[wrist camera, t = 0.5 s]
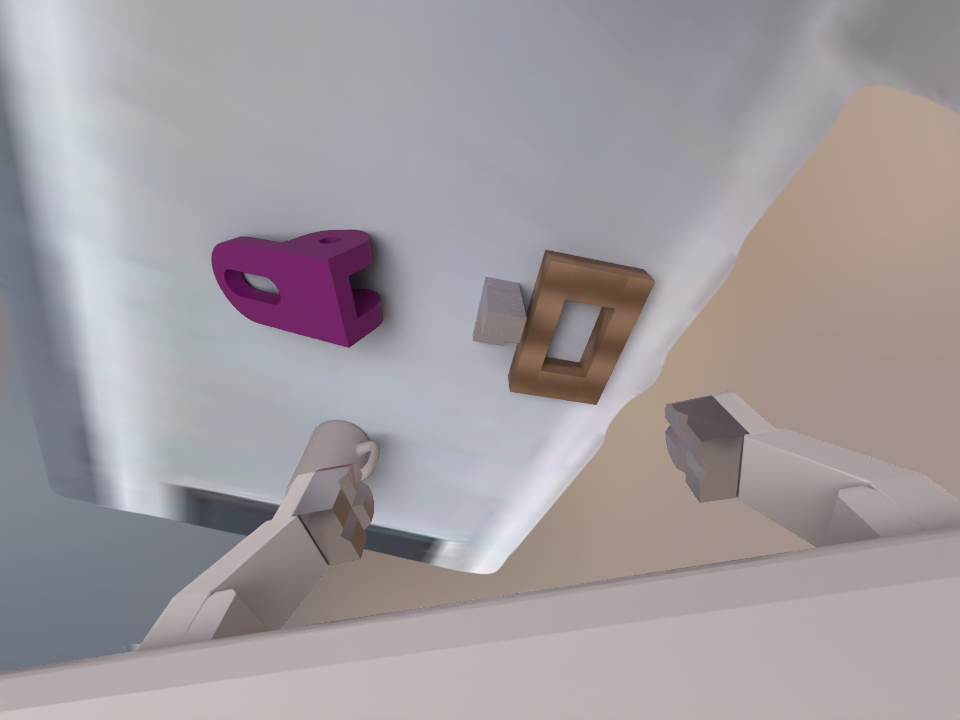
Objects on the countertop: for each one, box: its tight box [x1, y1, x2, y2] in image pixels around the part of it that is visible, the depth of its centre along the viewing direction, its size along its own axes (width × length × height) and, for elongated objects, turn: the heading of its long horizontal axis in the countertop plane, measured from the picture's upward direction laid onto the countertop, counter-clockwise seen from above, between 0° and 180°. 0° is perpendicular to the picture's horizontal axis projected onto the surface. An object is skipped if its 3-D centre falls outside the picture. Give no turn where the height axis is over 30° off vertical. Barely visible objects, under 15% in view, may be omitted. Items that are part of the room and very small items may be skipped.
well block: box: [508, 250, 655, 405], centre depth 49 cm, size 18×12×4 cm, turn 169°
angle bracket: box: [473, 277, 527, 346], centre depth 45 cm, size 8×4×9 cm, turn 169°
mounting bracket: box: [212, 230, 383, 348], centre depth 45 cm, size 10×8×18 cm
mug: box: [286, 420, 379, 495], centre depth 56 cm, size 12×8×11 cm
